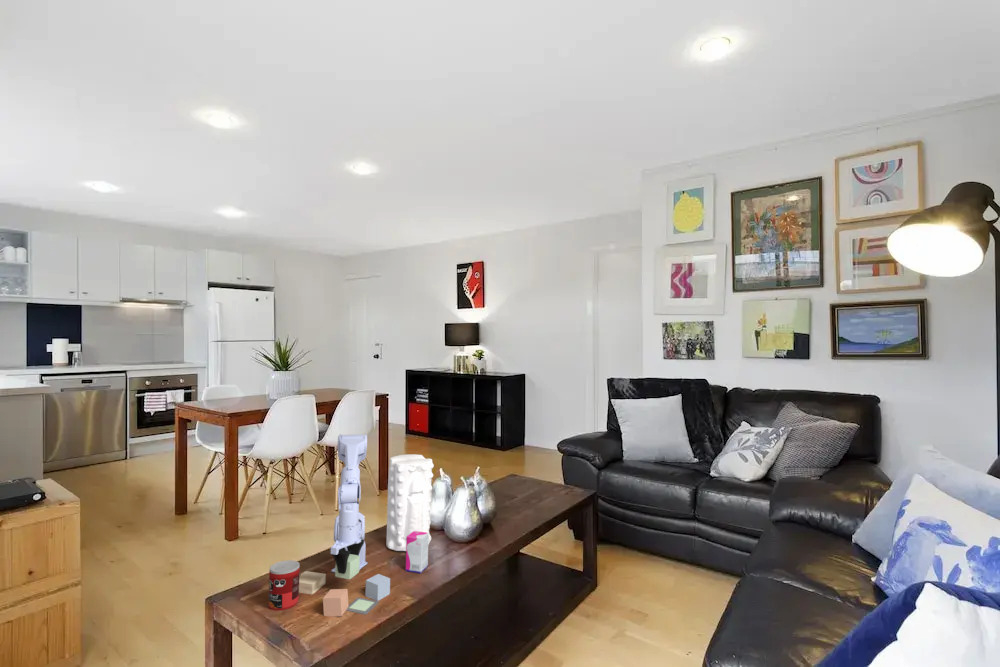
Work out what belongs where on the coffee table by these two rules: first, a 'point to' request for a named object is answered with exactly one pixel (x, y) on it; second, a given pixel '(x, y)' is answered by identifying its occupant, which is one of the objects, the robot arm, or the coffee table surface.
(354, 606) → the tile
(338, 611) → the terracotta cube
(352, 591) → the coffee table surface
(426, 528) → the vase
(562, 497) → the coffee table surface
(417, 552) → the supplement box
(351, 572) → the sage cube
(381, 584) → the slate blue cube
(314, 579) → the maple slab
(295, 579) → the canned food
